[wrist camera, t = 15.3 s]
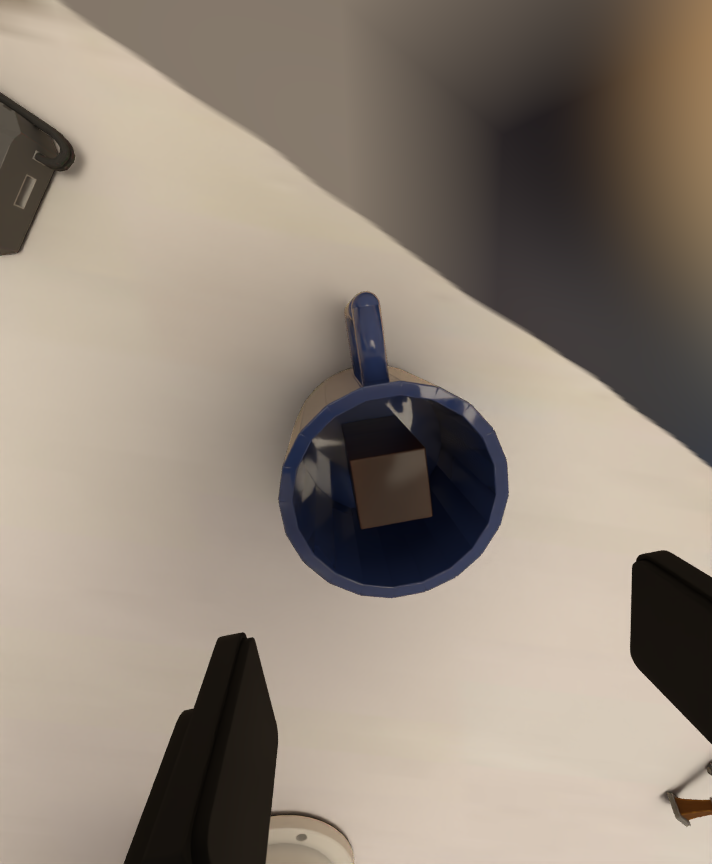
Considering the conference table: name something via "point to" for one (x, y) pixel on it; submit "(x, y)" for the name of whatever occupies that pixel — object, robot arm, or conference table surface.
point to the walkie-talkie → (25, 169)
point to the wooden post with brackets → (690, 806)
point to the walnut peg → (386, 472)
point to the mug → (447, 468)
